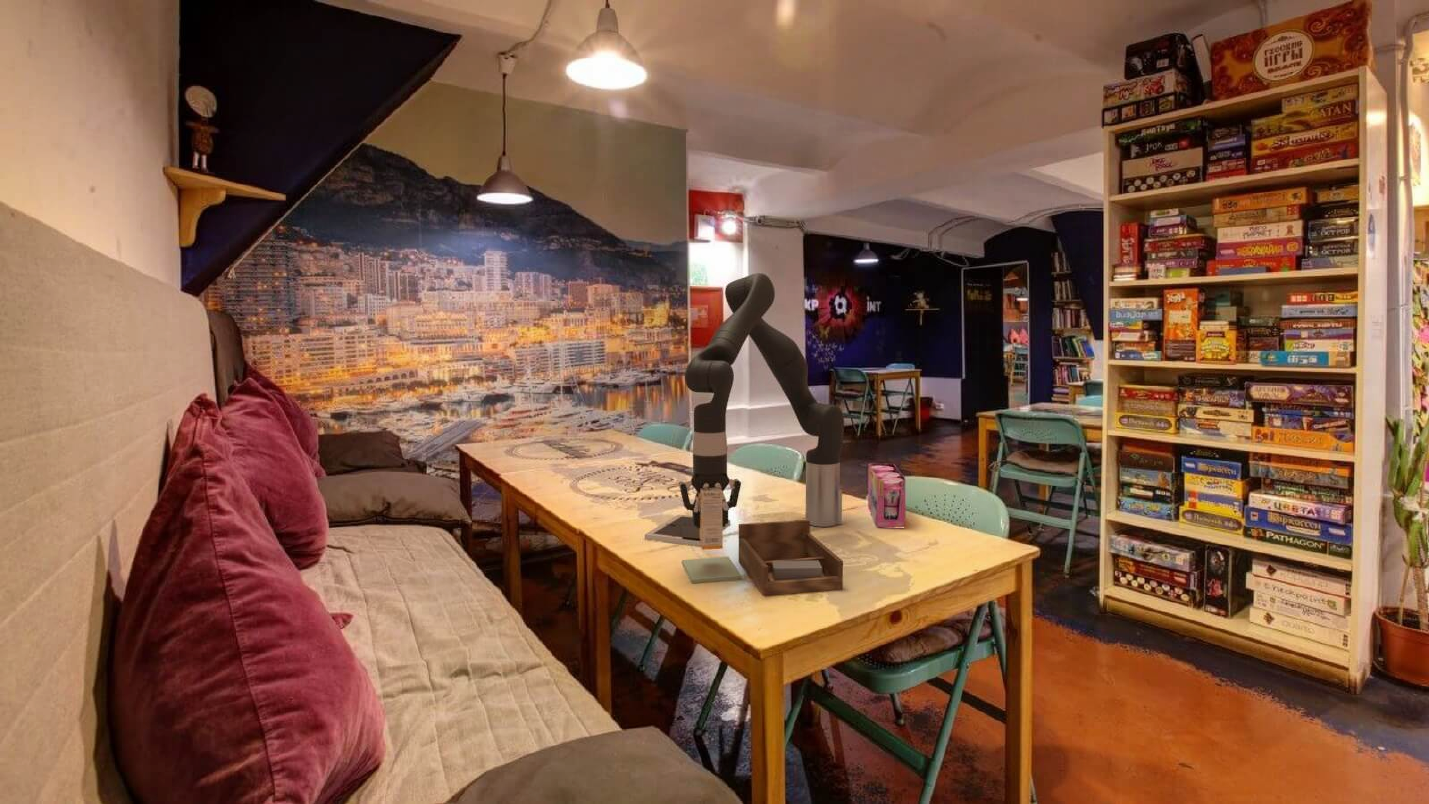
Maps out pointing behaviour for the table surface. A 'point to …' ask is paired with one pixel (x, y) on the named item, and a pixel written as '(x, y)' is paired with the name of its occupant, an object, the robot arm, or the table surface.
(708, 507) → the supplement box
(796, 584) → the rack
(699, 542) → the picture frame
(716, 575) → the pad
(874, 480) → the gum box
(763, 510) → the table surface
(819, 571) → the upper offcut
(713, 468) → the robot arm
